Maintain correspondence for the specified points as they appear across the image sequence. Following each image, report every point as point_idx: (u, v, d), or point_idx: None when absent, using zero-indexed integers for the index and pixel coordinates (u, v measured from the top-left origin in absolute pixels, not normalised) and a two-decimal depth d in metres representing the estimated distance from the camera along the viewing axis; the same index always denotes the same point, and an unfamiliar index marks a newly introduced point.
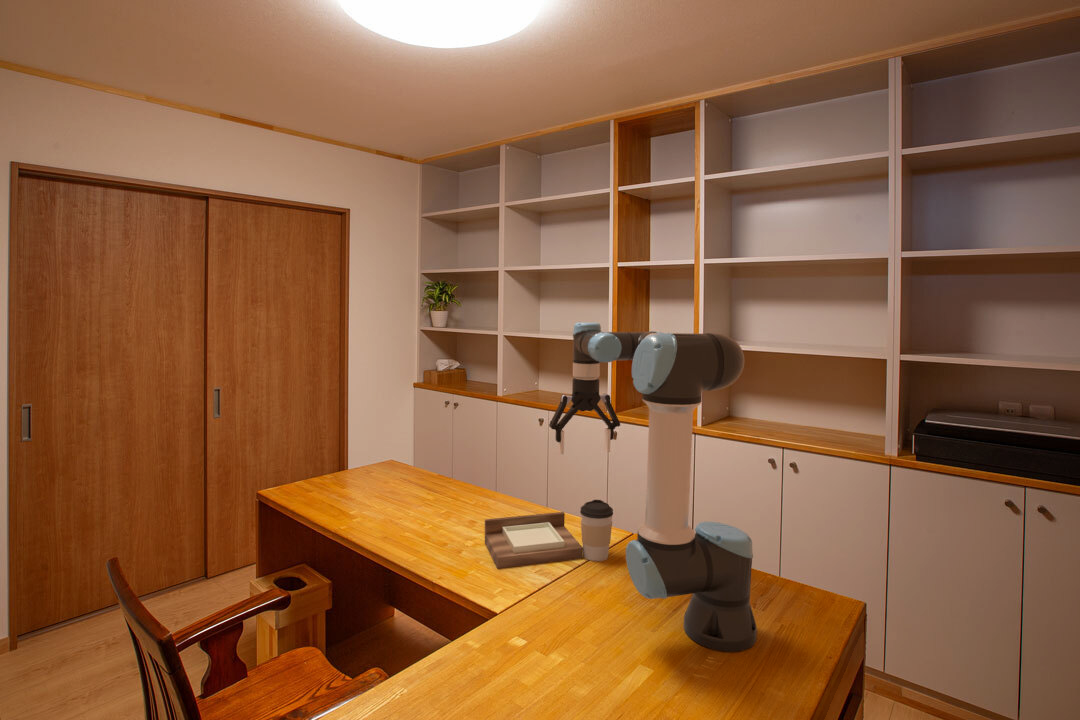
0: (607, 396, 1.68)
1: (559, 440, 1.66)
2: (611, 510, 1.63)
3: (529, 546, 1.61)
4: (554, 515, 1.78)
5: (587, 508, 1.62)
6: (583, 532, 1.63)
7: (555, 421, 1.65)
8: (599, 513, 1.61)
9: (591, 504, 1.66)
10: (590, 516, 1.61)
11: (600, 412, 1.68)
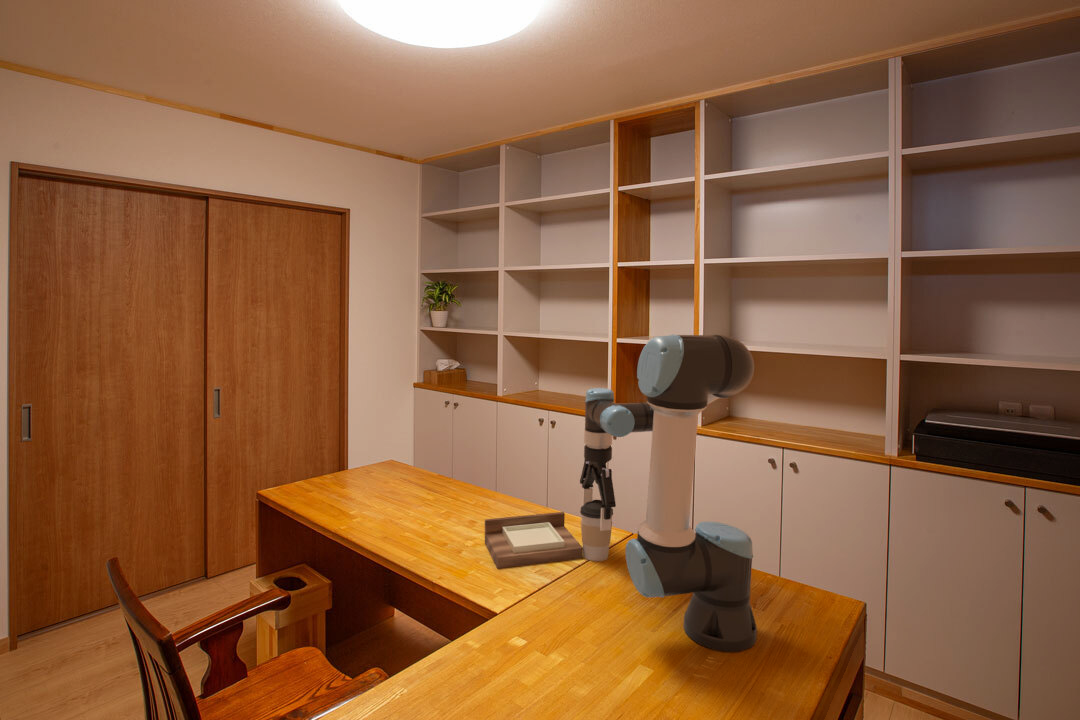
0: (601, 470, 1.57)
1: None
2: (611, 510, 1.63)
3: (529, 546, 1.61)
4: (554, 515, 1.78)
5: (587, 508, 1.62)
6: (583, 532, 1.63)
7: (581, 477, 1.72)
8: (599, 513, 1.61)
9: (591, 504, 1.66)
10: (590, 516, 1.61)
11: (598, 485, 1.60)
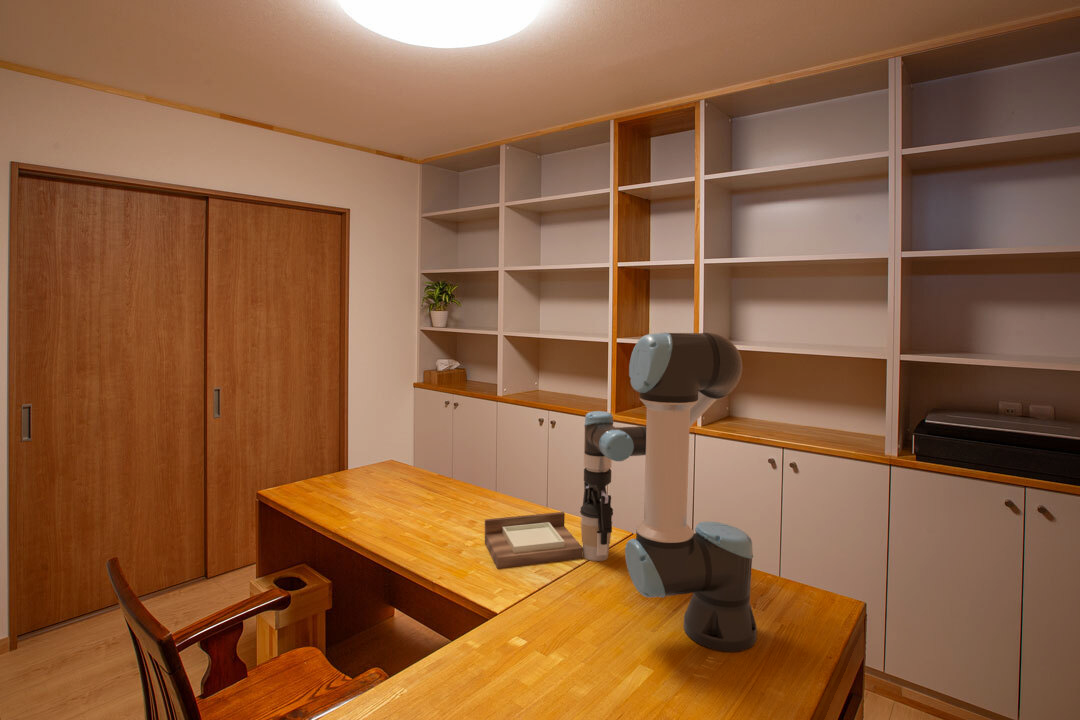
0: (601, 497, 1.58)
1: None
2: (611, 510, 1.63)
3: (529, 546, 1.61)
4: (554, 515, 1.78)
5: (587, 508, 1.62)
6: (583, 532, 1.63)
7: None
8: None
9: (591, 504, 1.66)
10: (590, 516, 1.61)
11: (597, 509, 1.61)
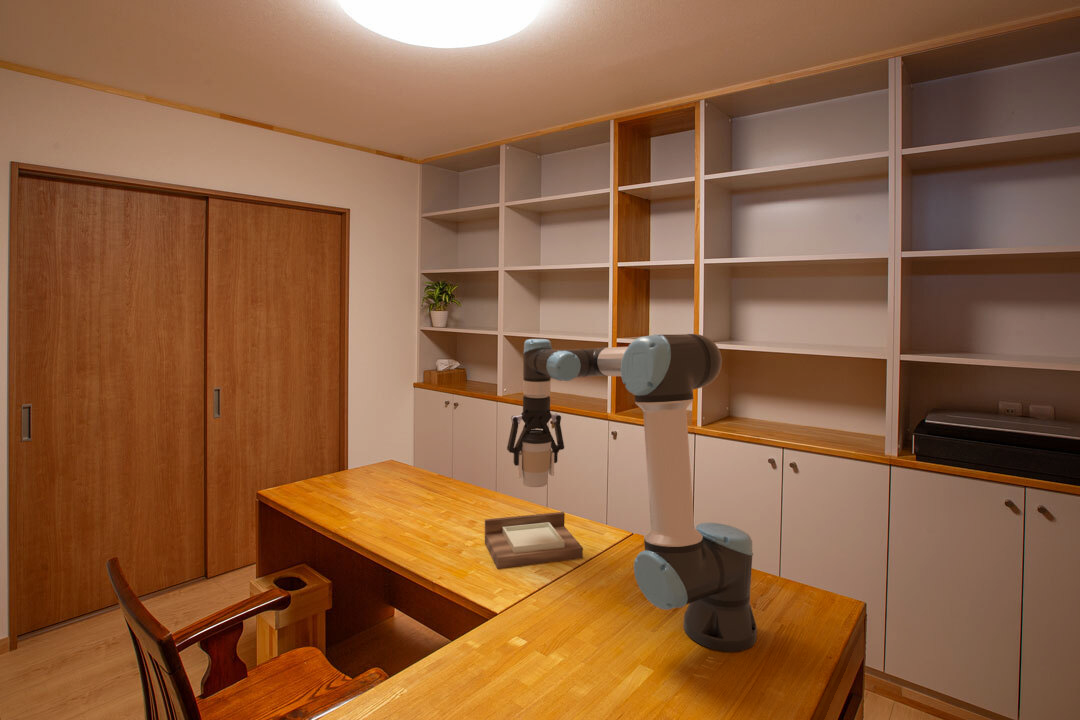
0: (558, 416, 1.65)
1: (517, 463, 1.64)
2: None
3: (529, 546, 1.61)
4: (554, 515, 1.78)
5: (543, 435, 1.63)
6: (541, 461, 1.63)
7: (511, 444, 1.63)
8: None
9: (531, 434, 1.64)
10: (549, 440, 1.64)
11: (548, 432, 1.65)
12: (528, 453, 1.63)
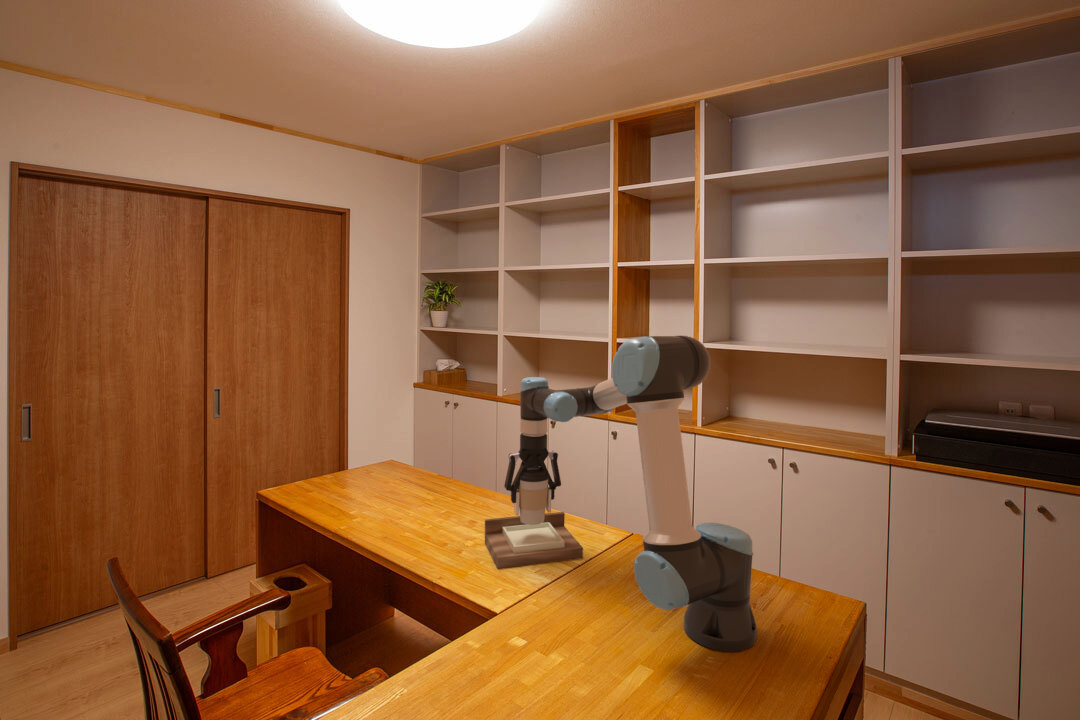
0: (555, 454, 1.67)
1: (514, 501, 1.65)
2: None
3: (529, 546, 1.61)
4: (554, 515, 1.78)
5: (540, 473, 1.64)
6: (539, 499, 1.64)
7: (509, 482, 1.64)
8: None
9: (528, 472, 1.65)
10: (546, 478, 1.65)
11: (545, 470, 1.66)
12: (525, 491, 1.64)
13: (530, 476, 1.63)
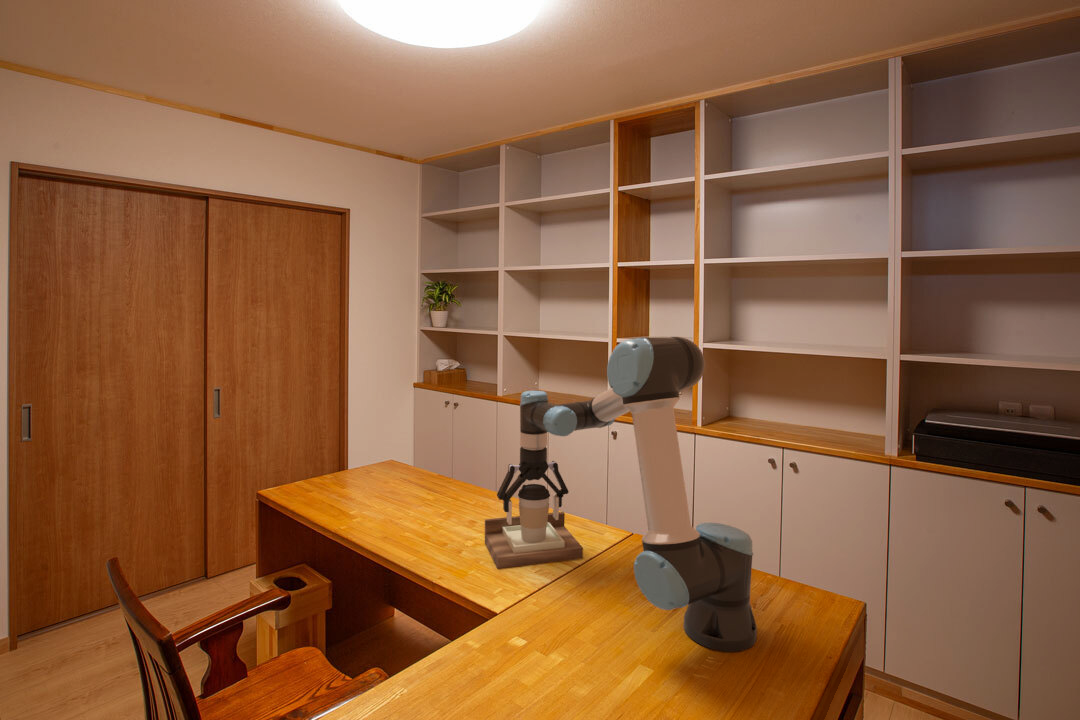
0: (555, 464, 1.67)
1: (507, 510, 1.65)
2: None
3: (529, 546, 1.61)
4: None
5: (541, 491, 1.65)
6: (540, 517, 1.64)
7: (502, 492, 1.63)
8: (547, 490, 1.68)
9: (529, 490, 1.66)
10: (547, 496, 1.65)
11: (548, 480, 1.67)
12: (526, 509, 1.64)
13: (531, 494, 1.64)
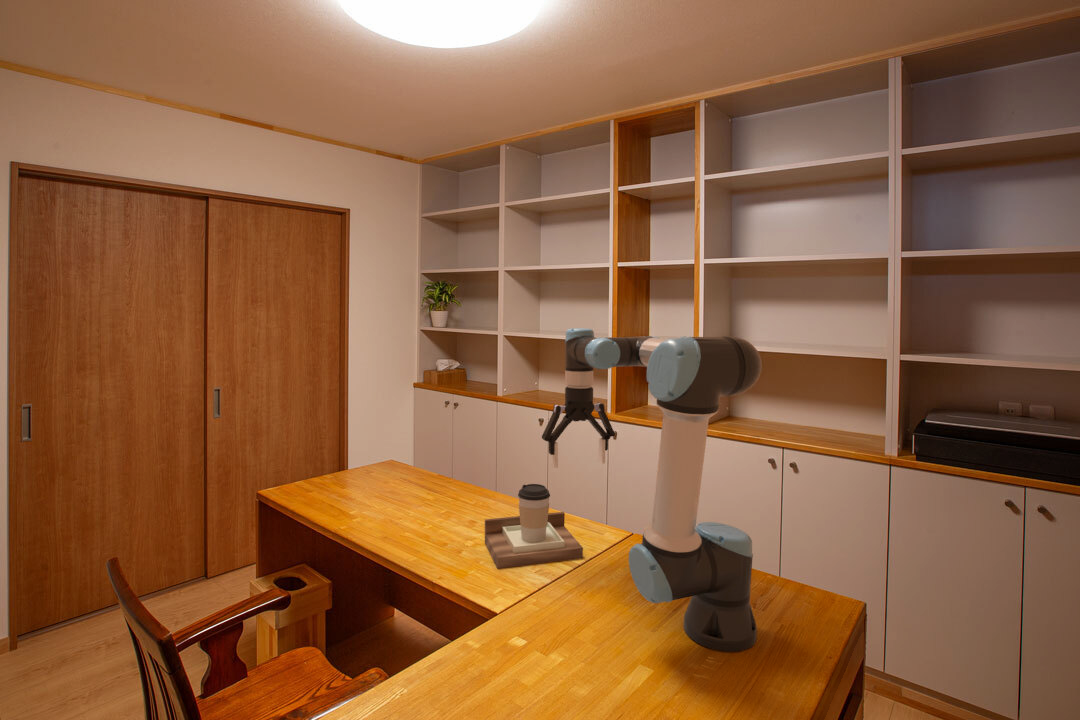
0: (601, 405, 1.61)
1: (553, 452, 1.58)
2: None
3: (529, 546, 1.61)
4: (554, 515, 1.78)
5: (541, 491, 1.65)
6: (540, 517, 1.64)
7: (548, 432, 1.57)
8: (547, 490, 1.68)
9: (529, 490, 1.66)
10: (547, 496, 1.65)
11: (594, 422, 1.61)
12: (526, 509, 1.64)
13: (531, 494, 1.64)
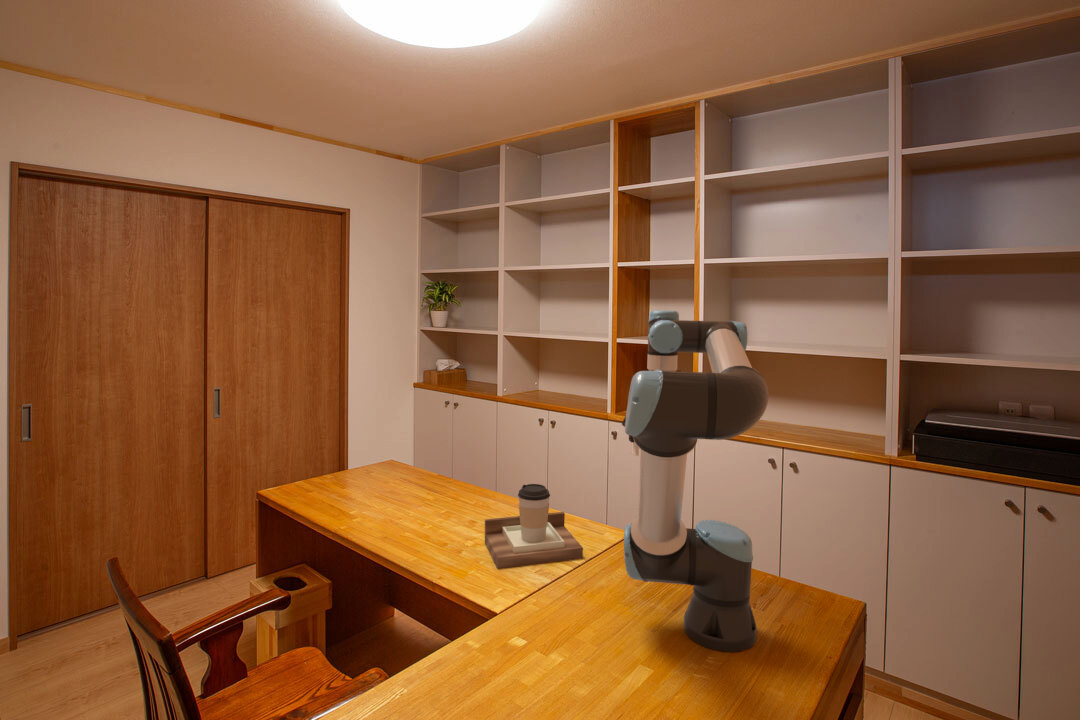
0: None
1: (633, 440, 1.51)
2: None
3: (529, 546, 1.61)
4: (554, 515, 1.78)
5: (541, 491, 1.65)
6: (540, 517, 1.64)
7: None
8: (547, 490, 1.68)
9: (529, 490, 1.66)
10: (547, 496, 1.65)
11: None
12: (526, 509, 1.64)
13: (531, 494, 1.64)
